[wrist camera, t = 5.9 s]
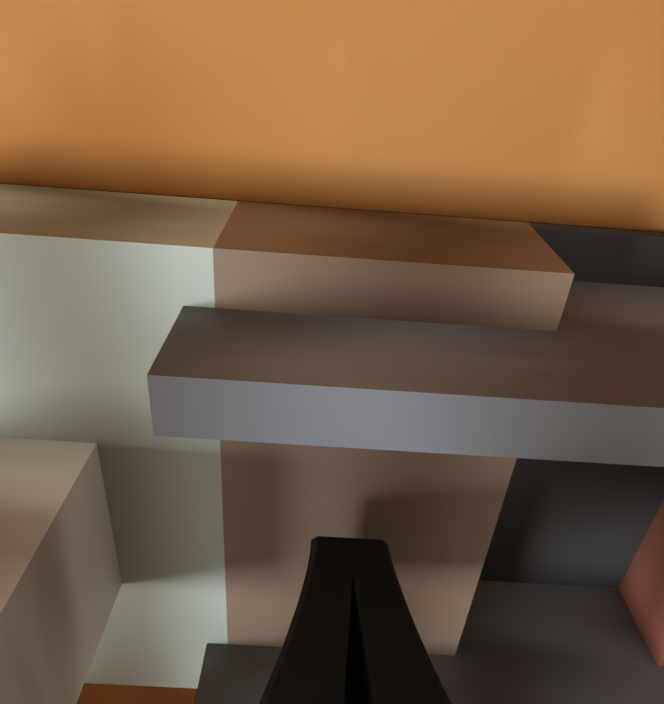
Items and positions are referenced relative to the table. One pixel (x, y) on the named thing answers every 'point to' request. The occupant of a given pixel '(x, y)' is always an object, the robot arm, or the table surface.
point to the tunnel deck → (353, 429)
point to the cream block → (52, 568)
